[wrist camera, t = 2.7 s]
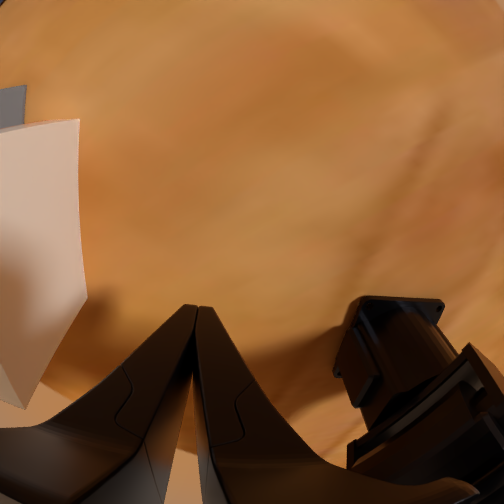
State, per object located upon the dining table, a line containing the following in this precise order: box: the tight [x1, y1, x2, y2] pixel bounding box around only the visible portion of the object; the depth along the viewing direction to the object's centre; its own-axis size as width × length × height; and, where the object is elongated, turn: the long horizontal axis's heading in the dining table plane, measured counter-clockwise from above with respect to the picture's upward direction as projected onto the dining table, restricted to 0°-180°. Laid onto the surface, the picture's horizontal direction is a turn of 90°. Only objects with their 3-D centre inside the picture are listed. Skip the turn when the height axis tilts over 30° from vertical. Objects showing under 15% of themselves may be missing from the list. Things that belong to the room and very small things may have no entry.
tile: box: [0, 119, 88, 410], centre depth 10 cm, size 2×10×8 cm, turn 172°
